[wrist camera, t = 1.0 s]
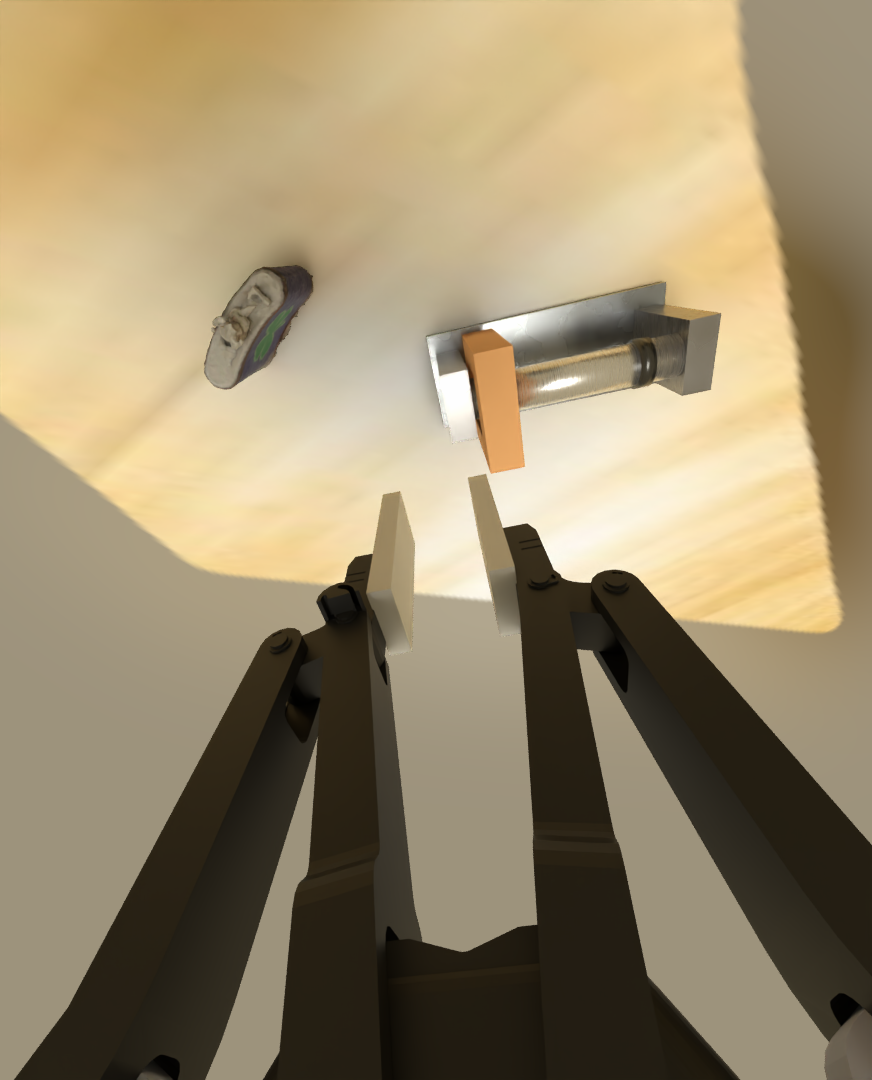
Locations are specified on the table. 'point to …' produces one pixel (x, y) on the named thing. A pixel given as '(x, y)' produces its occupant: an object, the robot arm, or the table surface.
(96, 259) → the table surface
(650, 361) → the pipe rail
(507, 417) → the orange square ring
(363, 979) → the robot arm
